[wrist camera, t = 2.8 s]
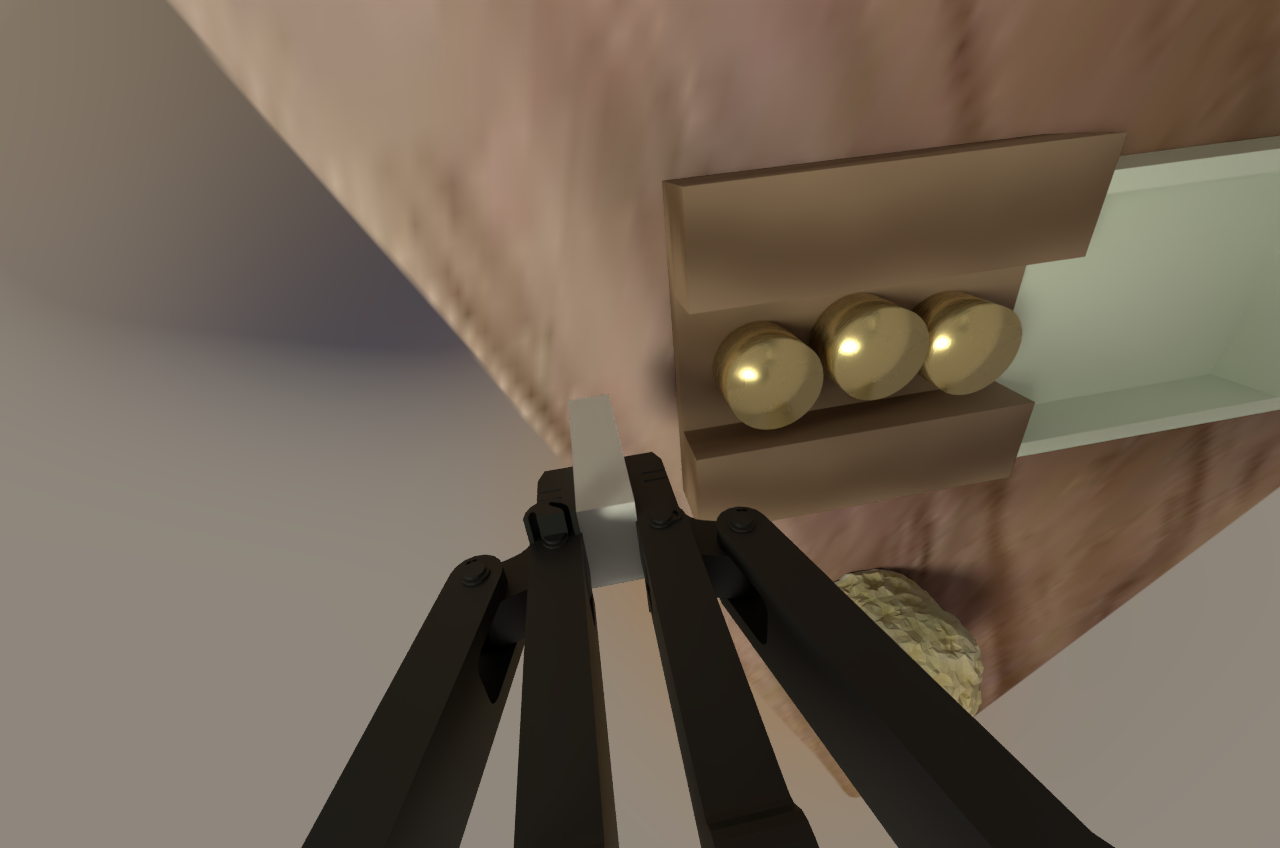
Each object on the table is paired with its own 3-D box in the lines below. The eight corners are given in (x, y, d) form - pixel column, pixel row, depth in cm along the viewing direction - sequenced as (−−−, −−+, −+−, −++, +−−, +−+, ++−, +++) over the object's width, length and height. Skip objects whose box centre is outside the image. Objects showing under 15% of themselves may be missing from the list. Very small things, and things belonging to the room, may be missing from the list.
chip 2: (812, 299, 21) (841, 316, 19) (899, 286, 22) (938, 301, 19) (805, 383, 23) (831, 406, 21) (885, 370, 24) (919, 392, 21)
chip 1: (712, 326, 21) (729, 347, 19) (801, 315, 21) (828, 334, 19) (712, 408, 23) (728, 435, 21) (794, 397, 23) (817, 422, 21)
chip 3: (903, 296, 22) (942, 313, 20) (987, 284, 22) (1034, 298, 20) (890, 378, 24) (923, 401, 22) (966, 366, 24) (1007, 387, 22)
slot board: (662, 180, 19) (682, 186, 16) (1042, 134, 20) (1127, 131, 17) (683, 490, 26) (700, 534, 23) (960, 441, 28) (1009, 477, 25)
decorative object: (784, 620, 39) (877, 750, 34) (769, 626, 30) (891, 802, 25) (882, 551, 38) (990, 675, 33) (896, 536, 29) (1046, 702, 25)
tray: (1033, 167, 21) (1114, 170, 18) (1339, 127, 22) (1463, 124, 19) (965, 423, 27) (1016, 457, 24) (1206, 381, 28) (1283, 408, 25)
